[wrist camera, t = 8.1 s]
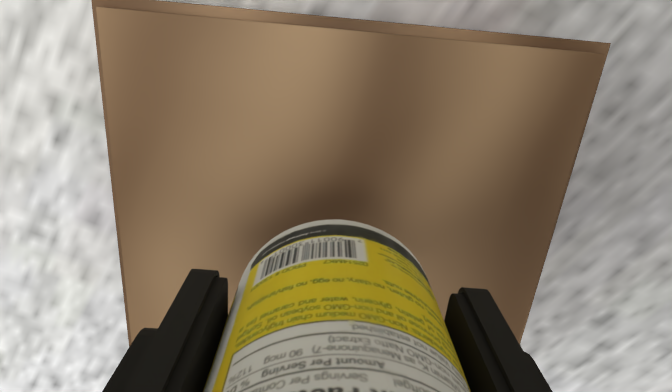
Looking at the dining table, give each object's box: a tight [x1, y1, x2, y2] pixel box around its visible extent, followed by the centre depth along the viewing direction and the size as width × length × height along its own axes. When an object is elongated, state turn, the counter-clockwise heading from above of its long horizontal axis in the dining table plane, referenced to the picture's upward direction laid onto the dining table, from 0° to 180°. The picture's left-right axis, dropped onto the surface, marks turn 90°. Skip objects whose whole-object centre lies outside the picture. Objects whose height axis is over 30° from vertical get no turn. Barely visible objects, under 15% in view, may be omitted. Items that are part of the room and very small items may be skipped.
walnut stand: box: [92, 0, 611, 347], centre depth 17 cm, size 15×13×4 cm
